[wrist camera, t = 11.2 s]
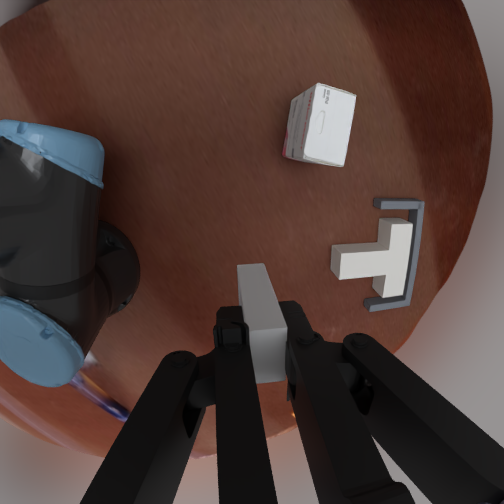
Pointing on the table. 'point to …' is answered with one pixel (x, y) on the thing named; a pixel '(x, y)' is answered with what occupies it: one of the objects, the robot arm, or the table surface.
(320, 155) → the ink box
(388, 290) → the t block
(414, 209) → the dock
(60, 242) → the robot arm
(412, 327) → the table surface
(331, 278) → the table surface
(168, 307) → the table surface
